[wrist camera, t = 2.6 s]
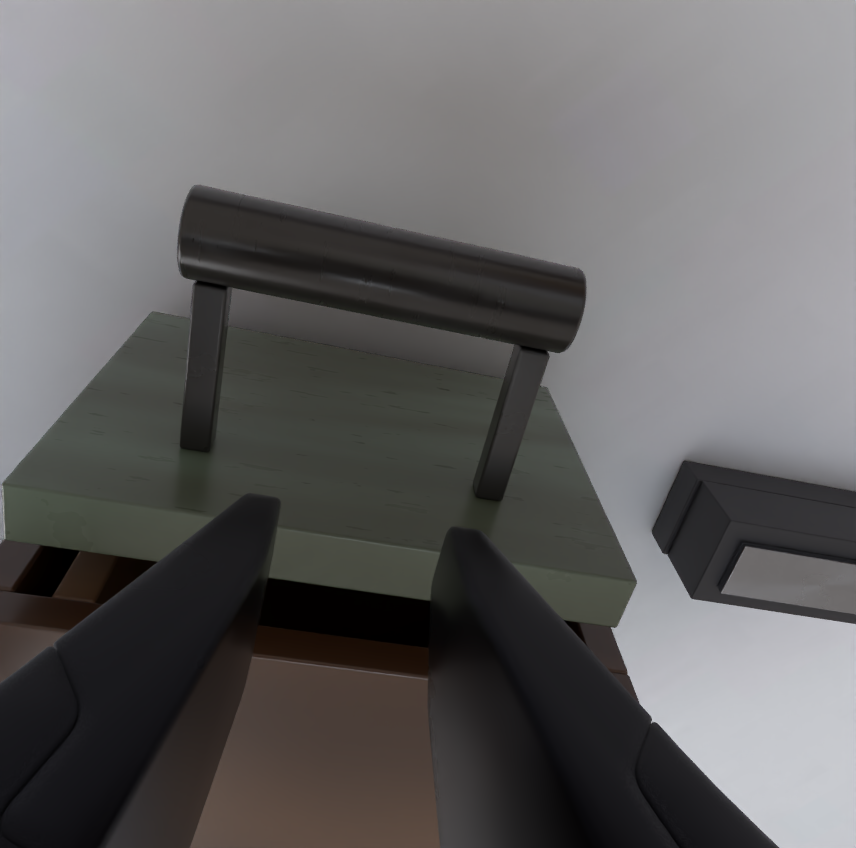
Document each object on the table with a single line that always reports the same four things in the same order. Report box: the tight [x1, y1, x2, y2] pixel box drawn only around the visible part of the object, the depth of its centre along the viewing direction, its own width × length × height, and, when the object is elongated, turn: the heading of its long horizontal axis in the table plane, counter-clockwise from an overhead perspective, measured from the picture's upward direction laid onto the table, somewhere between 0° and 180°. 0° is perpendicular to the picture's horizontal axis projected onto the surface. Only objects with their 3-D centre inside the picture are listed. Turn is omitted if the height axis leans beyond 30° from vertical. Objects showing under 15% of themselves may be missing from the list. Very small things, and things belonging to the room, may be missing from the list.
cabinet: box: [0, 539, 639, 848], centre depth 21 cm, size 15×13×11 cm
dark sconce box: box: [652, 461, 856, 624], centre depth 24 cm, size 8×3×4 cm, turn 77°
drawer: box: [2, 185, 637, 648], centre depth 19 cm, size 18×11×9 cm, turn 167°
